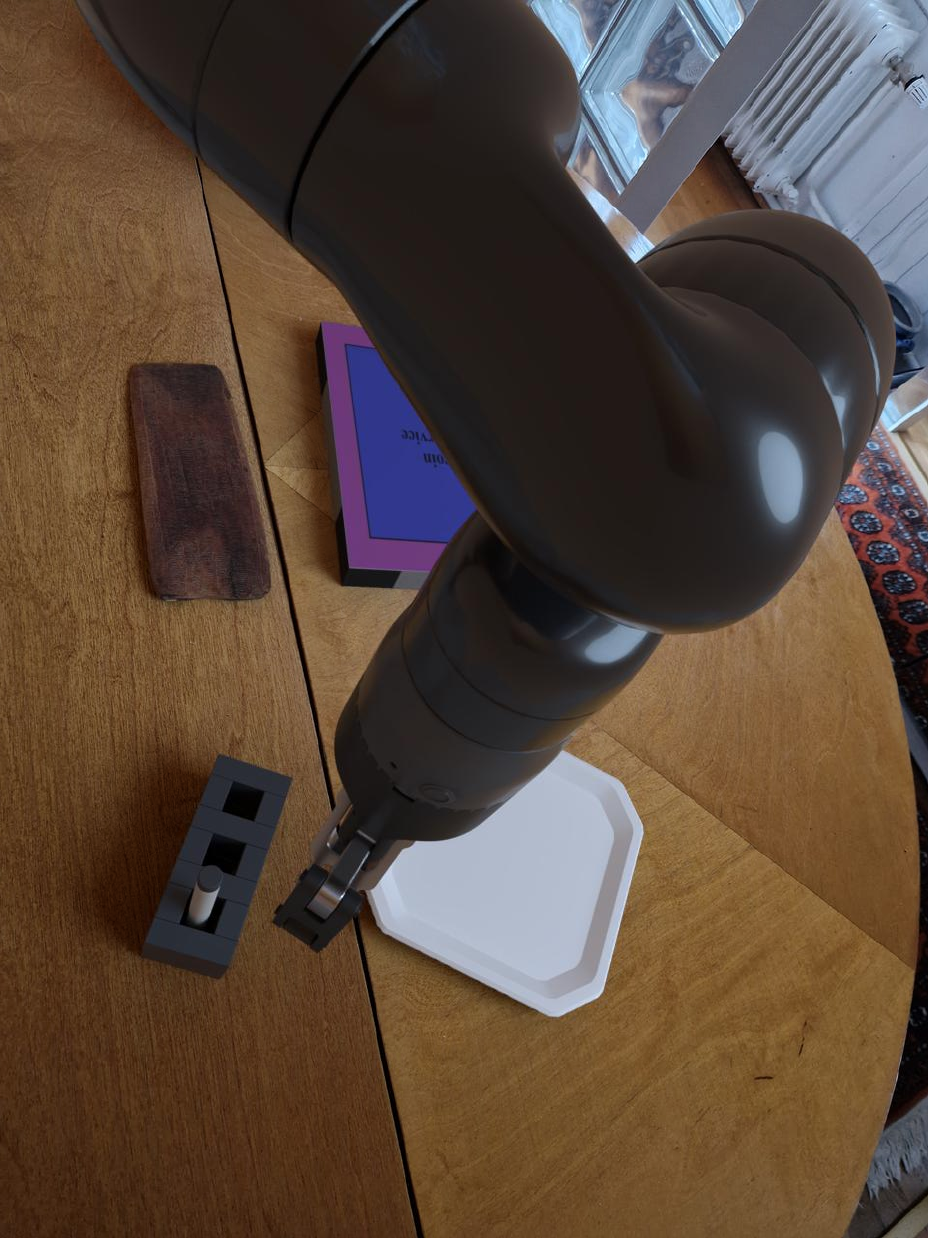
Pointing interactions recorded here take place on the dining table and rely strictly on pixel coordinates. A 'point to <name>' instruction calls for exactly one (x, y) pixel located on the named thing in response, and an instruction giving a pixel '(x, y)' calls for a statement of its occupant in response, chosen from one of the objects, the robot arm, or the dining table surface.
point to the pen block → (236, 891)
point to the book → (381, 469)
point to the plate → (524, 889)
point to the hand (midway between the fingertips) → (353, 837)
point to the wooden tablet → (196, 486)
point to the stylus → (204, 897)
